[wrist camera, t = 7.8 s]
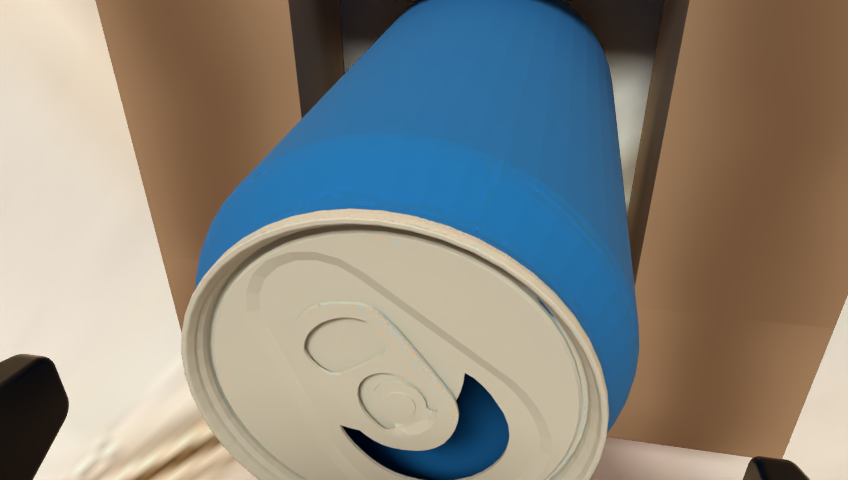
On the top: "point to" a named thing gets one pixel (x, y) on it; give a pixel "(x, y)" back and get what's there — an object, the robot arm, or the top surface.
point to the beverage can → (428, 264)
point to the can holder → (650, 199)
